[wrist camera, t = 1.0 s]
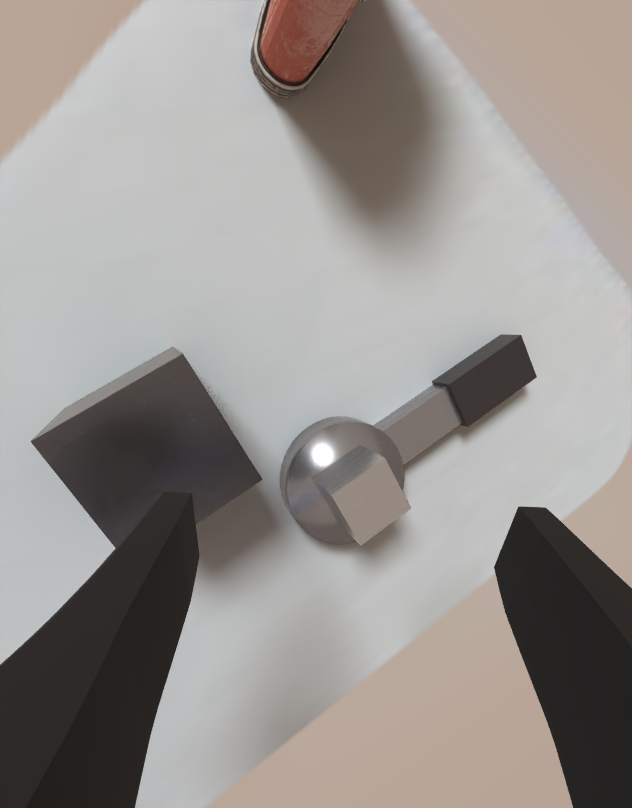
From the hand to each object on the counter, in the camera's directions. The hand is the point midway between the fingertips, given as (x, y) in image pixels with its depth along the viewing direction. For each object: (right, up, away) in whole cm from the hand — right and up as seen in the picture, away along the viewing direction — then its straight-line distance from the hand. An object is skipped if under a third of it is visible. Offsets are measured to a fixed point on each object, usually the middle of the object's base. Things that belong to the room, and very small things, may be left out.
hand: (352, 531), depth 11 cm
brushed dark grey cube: (-8, +2, +10) cm, 13 cm away
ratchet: (+4, +2, +14) cm, 15 cm away
